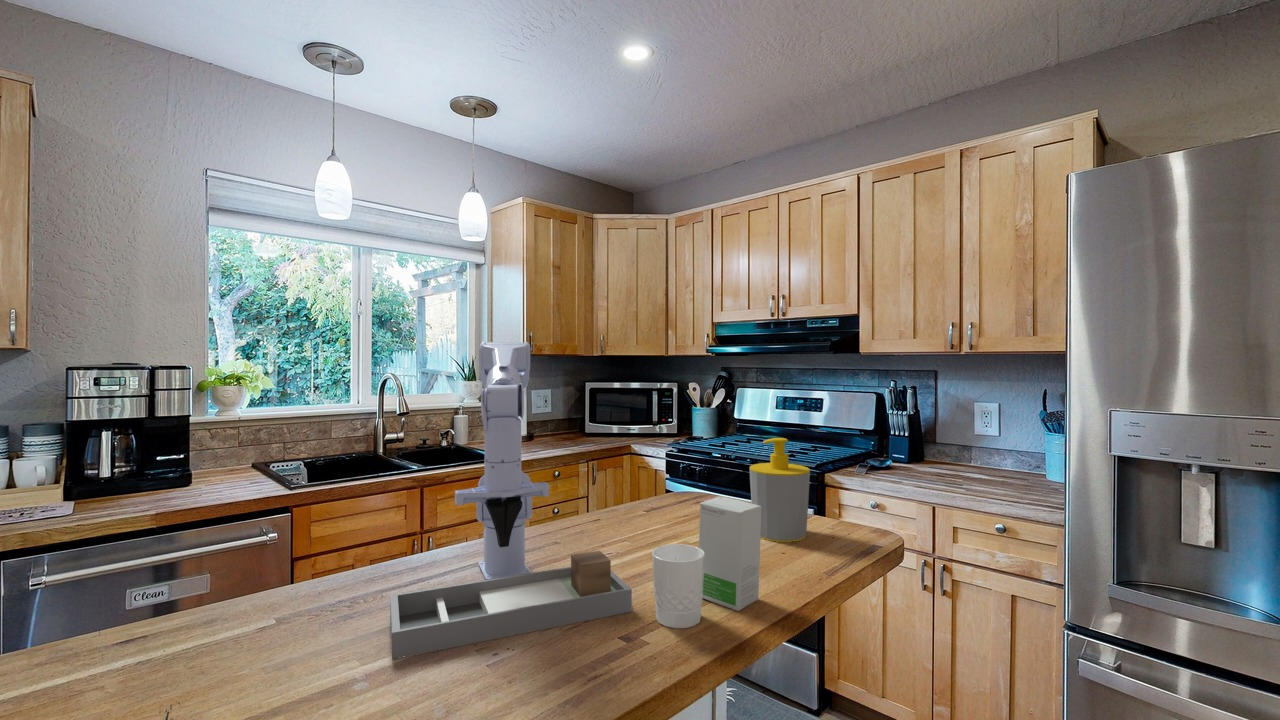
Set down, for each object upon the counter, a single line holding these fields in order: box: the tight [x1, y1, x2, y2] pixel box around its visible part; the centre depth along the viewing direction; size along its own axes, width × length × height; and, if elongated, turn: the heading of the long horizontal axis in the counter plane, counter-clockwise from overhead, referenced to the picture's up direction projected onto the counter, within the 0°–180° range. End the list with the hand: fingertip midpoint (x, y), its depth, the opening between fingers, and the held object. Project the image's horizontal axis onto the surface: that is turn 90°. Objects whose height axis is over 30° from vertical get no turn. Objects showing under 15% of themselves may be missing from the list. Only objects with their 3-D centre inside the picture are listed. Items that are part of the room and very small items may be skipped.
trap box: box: [389, 566, 633, 660], centre depth 88 cm, size 13×34×4 cm, turn 114°
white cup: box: [651, 543, 705, 629], centre depth 87 cm, size 8×8×10 cm
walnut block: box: [570, 550, 612, 597], centre depth 93 cm, size 5×5×5 cm
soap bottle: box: [749, 437, 811, 543], centre depth 128 cm, size 13×13×21 cm
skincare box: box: [698, 496, 761, 612], centre depth 94 cm, size 8×7×16 cm
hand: (503, 545), depth 92 cm, fingers closed
